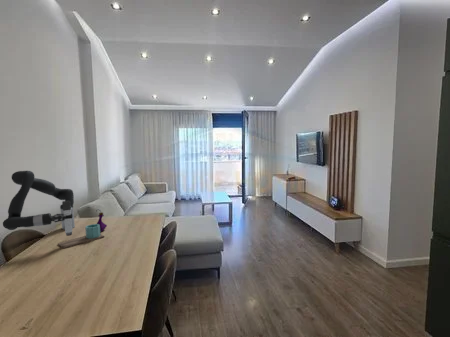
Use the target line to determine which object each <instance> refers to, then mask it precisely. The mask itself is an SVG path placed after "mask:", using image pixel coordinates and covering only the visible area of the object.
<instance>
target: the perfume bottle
mask: <svg viewBox="0 0 450 337" xmlns="http://www.w3.org/2000/svg"><path fill="white" fill-rule="evenodd" d="M95 211H96V212H98V211H99V213H98V217H99V218H98V221H97V222H96V224H99V225H100V233H102V232H103V231H105V229H106V228H107V226H108V225H107V224H106V223H105V222H103V221H102V220H103V219H102V218H103V216H104V212H102V209H100V208H97V209H96V210H95Z"/></svg>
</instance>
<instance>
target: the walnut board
mask: <svg viewBox="0 0 450 337" xmlns="http://www.w3.org/2000/svg"><path fill="white" fill-rule="evenodd" d="M103 238H105V235H103V234H101V233H100V236H99V237H97V238H92V239H88V238H86V235H84V236H80V237H77V238H72V239H68V240H65V241H61V242H57V245H58V246H59V247H61V249H64V250H65V249H68V248H71V247H76V246H78V245H81V244H82V245H83V244H86V243H90V242H93V241H96V240H100V239H103Z"/></svg>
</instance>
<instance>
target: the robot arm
mask: <svg viewBox="0 0 450 337" xmlns="http://www.w3.org/2000/svg"><path fill="white" fill-rule="evenodd" d="M11 180H12V182H13V183H14V184H16V185H19V186H20V188H19V190H18V191H17V193H16V194H15V195H14V196H13V197H12V199H11V201H10V203H9V205H8V209H7V214H8V217H7V218H6V219H5V220H4V221H3V222H2V226H3V227H4V228H5V229H6V230H9V231H14V230H16V229H18V228H32V227H40V226H41V227H42V226H47V225H51V224H52V223H53V222H54V223H58V222H61V229H62V230H65V224H64V220H65V219H70V218H71V222H72V229H74V228H75V226H76V224H75V212H74V203H75V202H74V199H75V198H74V195H75V194H74V191H73V189H70V188H58V187H56V184H54V183H53V182H51V181H49V180H46V179H43V178H36V177H35V174H34V172H33V171H31V170H18V171H15V172H13V173H12V175H11ZM31 189H33V190H34V191H37V192H39V193H40V192H41V193H43V194H46V195H49V196H52V197H54V198H56V199H57V200H59V201H70V206H71V215H67V216H64V212H63V205H62V204H60V205H59V209H60V213H56V214H54V215H52V213H49V212H48V213H40V214H36V215H29V216H22V212H23V209H24V204H25V201H26V199H27V196H28V194H29V192H30V190H31Z"/></svg>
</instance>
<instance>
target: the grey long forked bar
mask: <svg viewBox="0 0 450 337" xmlns="http://www.w3.org/2000/svg"><path fill="white" fill-rule="evenodd" d="M61 203H62V204H61V205H63V212H64V216H67V215H71V206H70V201H65V200H62V202H61ZM64 224H65V229H64V231H65V232H64V233H65V236H66V237H68V236H72V235H73V228H72V222H71V218H70V219H65V220H64Z"/></svg>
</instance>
